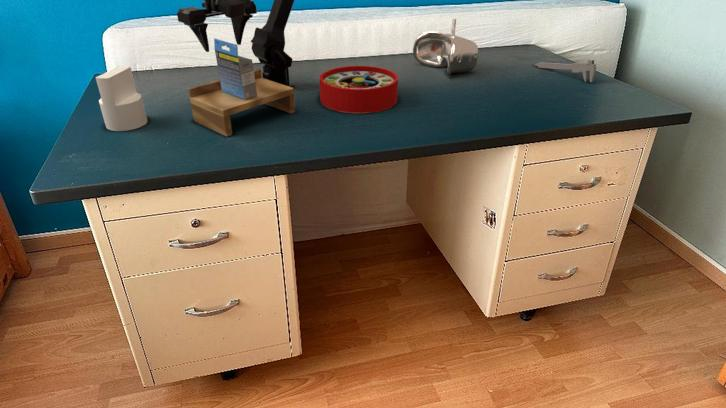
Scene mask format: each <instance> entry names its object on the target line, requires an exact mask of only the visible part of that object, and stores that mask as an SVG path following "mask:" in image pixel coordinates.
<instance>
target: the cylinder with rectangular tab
mask: <svg viewBox="0 0 726 408" xmlns="http://www.w3.org/2000/svg"><path fill="white" fill-rule="evenodd" d="M95 81H96V85H97V88H98V92H99V95H100V98H99V99H98V105H99V107H100V112H101V114H102V115H101V116H102V118H103V122H104V125H105V128H106V129H107V130H108V131H111V132H112V131H113V132H127V131H132V130H136V129H137V130H138V129H139V128H142V127H144V126H146V124H148V121H149V120H148V116H147V112H146V108H145V104H144V100H143V96H142V94H141V93H139V92H138V91H137V88H136V83H135V79H134V75H133V71H132V67H131V66H127V65H124V66H123V65H122V66H121V65H120V66H119V65H118V66H116V67H114V68H112V69H110V70H107V71H106V72H104V73H102V74H100V75H98V76H96V77H95Z"/></svg>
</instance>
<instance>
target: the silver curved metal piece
mask: <svg viewBox="0 0 726 408" xmlns="http://www.w3.org/2000/svg"><path fill="white" fill-rule="evenodd" d="M456 26H457V19H456V18H452V21H451V29H450V30H451V31H450V32H451V33H443V32H440V31H436V30H427V31H424V32H422V33H420V34H418V36H417V37H416V38H415V40H414V42H413V45H412V54H413V58H414V59H415V60H416V61H417V63H419V64H421V65H422V66H426V67H430V68H446V73H447V74H448V75H449V76H451V75H453V74H459V73H465V72H471V71H473V70H474V69H475V68H476V65H477V62H478V56H479V48H478V47H479V46H478V45H477V43H476V42H475V41H473V40H470V39H467V38H465V37H461V36H458V35H456Z"/></svg>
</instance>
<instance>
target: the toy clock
mask: <svg viewBox="0 0 726 408" xmlns="http://www.w3.org/2000/svg"><path fill="white" fill-rule="evenodd" d="M318 79H319V82H318V83H319V101H320V104H321V105H322V106H323V107H325V108H327V109H329V110H332V111H335V112H339V113H347V114H372V113H378V112H382V111H386V110H388V109H391V108H392V107H394V106H395V105H396V104H397V103H398V98H399V97H398V95H399V94H398V93H399V76H398V74H397V73H396V72H394V71H392V70H390V69H387V68H384V67H379V66H371V65H346V66H345V65H344V66H340V67H335V68H331V69H328V70H326V71H323V72H322V73H321V74H320V75H319V77H318Z"/></svg>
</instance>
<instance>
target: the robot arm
mask: <svg viewBox="0 0 726 408" xmlns="http://www.w3.org/2000/svg"><path fill="white" fill-rule="evenodd" d="M294 3H295V0H273V3H272V6H271V8H270V12H269V14H268V17H267V20H266V23H265V24H264V25H263V26H262V27H261V28H260V27H255V29H254V33H253V36H252V38H251V40H250V43H251V51H252V54H253V55H254V56H255V57H256V58H257V59H258V62H259V63H260V64H262V65H263V66H262V72H261V75H262V78H264V79H267V80H270V81H273V82H276V83H279V84H283V85H286V86H289V87H292V88H294V84H292V83H291V82H290V71H289V68H291V67H292V64H293V58H292V57H291V56H290V55H289V54H287V53H286V52H285V47H286V37H285V30H286V28H287V23H288V21H289V18H290V15H291V12H292V9H293V6H294ZM201 7H202V8H199V7H195V6H188V7H181V8H178V11H177V13H176V17H177V22H179V23H183V25H184V26H188V27H189V28H190V30H191V31H192V33H193V34H194V35H195V37H196V38H197V40H198V42H199V44H200V45H201V47H202V48H203V50H204V51H205V52H207V53H209V52H210V44H209V38H208V34H207V29H208V25H209V23H206V20H207V18H212V17H217V16H225V17H226V18H229V19H230V21H231V26H232V31H233V35H234V40H235V43H236V45H237V46H241V45H242V40H243V36H244V31H245V28H246V24H247V22H248V21H249V20H250V19H252V18H254V14H258V9H257V8H258V7H257V4H256V3H255V2H254V0H203V2H201Z"/></svg>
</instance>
